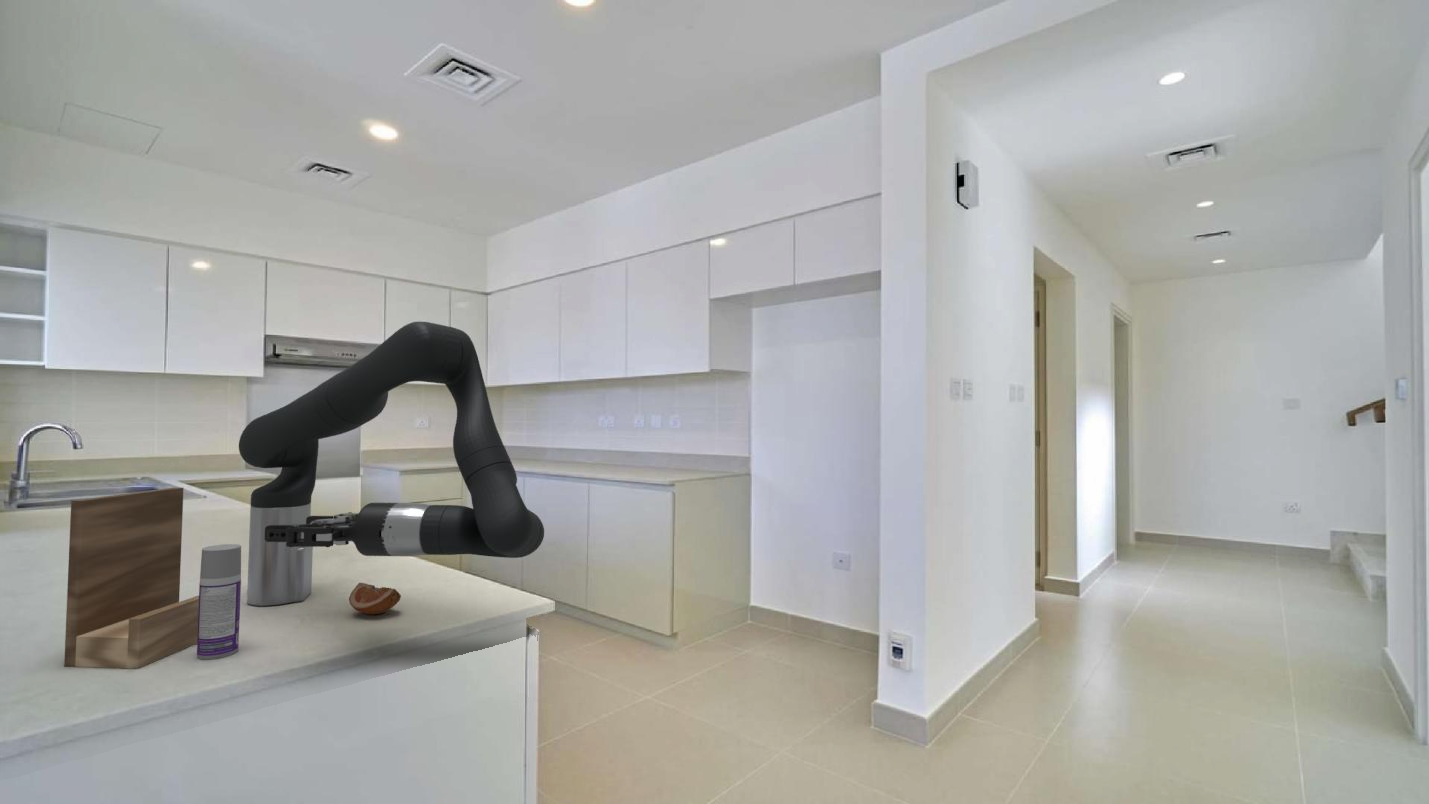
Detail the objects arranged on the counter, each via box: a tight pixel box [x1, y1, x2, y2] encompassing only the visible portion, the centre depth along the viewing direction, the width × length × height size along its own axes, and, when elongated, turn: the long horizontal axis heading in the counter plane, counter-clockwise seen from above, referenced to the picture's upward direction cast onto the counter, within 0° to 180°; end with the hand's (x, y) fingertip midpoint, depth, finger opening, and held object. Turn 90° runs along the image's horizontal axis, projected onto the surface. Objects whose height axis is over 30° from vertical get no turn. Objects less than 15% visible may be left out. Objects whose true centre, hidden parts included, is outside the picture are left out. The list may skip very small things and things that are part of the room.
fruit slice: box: [348, 582, 402, 616], centre depth 110 cm, size 8×7×5 cm
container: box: [196, 543, 242, 660], centre depth 91 cm, size 5×5×15 cm
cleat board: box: [63, 487, 199, 670], centre depth 93 cm, size 10×16×22 cm, turn 179°
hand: (287, 528), depth 92 cm, fingers open, 8 cm apart
